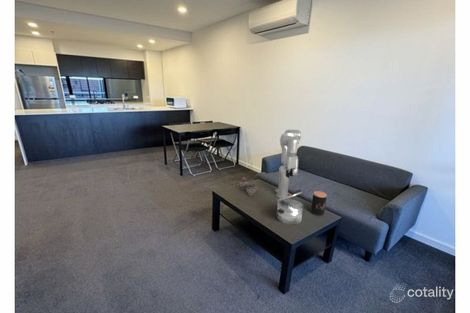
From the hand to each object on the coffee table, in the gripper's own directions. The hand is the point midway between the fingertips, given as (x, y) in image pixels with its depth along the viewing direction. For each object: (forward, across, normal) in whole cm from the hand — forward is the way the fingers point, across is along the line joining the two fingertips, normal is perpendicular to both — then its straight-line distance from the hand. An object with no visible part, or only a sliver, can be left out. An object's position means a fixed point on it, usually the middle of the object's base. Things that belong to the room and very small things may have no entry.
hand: (289, 176), depth 176 cm
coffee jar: (+35, -27, +13) cm, 46 cm away
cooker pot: (+35, 0, +4) cm, 35 cm away
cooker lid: (+17, 0, +3) cm, 17 cm away
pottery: (+36, -5, -54) cm, 65 cm away
